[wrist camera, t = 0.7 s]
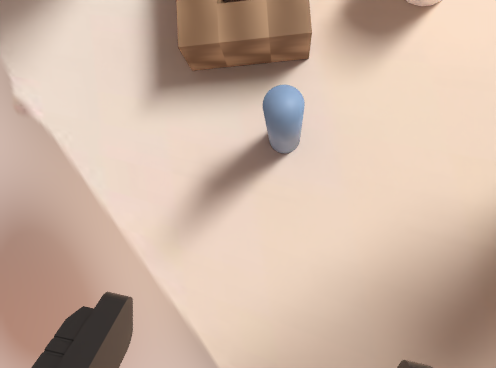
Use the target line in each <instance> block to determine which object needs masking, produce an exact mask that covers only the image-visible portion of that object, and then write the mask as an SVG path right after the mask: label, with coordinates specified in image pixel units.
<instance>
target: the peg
mask: <svg viewBox="0 0 496 368" xmlns="http://www.w3.org/2000/svg"><path fill="white" fill-rule="evenodd" d="M263 111H264V116H265V121H266V126H267V131H268V136H269V141H270V144H271V146H272V148H273V149H274V150H275V151H277V152H279V153H289V152H292V151H293V150H295V149H296V148H297V146H298V144H299V141H300V134H301V127H302V120H303V112H304V99H303V96H302V94H301V93H300V92H299V91H298V90H297V89H296V88H294V87H292V86H289V85H279V86H276V87H274V88H272V89H271V90H269V91H268V93H267V94H266V95H265V97H264V100H263Z"/></svg>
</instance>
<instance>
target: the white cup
mask: <svg viewBox="0 0 496 368" xmlns="http://www.w3.org/2000/svg"><path fill="white" fill-rule="evenodd" d="M406 1H407V2H408V3H410V4H414V5H418V6H429V5H433V4H436V3H438V2H440V1H442V0H406Z"/></svg>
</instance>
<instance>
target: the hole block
mask: <svg viewBox="0 0 496 368" xmlns="http://www.w3.org/2000/svg"><path fill="white" fill-rule="evenodd" d="M176 4H177V31H178V48H179V50H180V51H181V53H182V55H183V56H184V58H185V60H186V61H187V63H188V65H189V66H190V68H191V70H192V71H194V70H203V69H213V68H222V67H232V66H242V65H251V64H261V63H271V62H280V61H290V60H299V59H309V51H310V43H311V35H312V29H311V17H310V6H309V0H246V1H237V2H229V3H224V0H176Z"/></svg>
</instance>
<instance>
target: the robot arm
mask: <svg viewBox="0 0 496 368" xmlns="http://www.w3.org/2000/svg"><path fill="white" fill-rule="evenodd" d="M132 331H133V301H132V298H131V297H128V296H124V295H120V294H115V293H111V292H106V293H105V294H104V295H103V296H102V297H101V299H100V301H99V302H98V304H97V305H96V307H95V308H94V309H93V308H89V307H84V306H83V307H82V308H80V309H79V310H78V311H76V312H75V313H73V314H72V315H71V316H70V317H68V318H67V319H66V320H65V321H64V323H63V324H62V326H61V327H60V328H59V330H58V331H57V333H56V334H55V336H54V338H53V339H52V340H51V341H50V343H49V344H48V345H47V347H46V348H45V351H44V353H42V354H41V355H40V357H39V358H38V359H37V361H36V362H35V364H34V365H33V366H32V368H119V366H120V364H121V362H122V360H123V358H124V356H125V354H126V352H127V349H128V347H129V344H130V341H131V337H132ZM397 368H432V367H431V366H428V365H424V364H419V363H415V362H411V361H406V360H403V361H401V362H400V364H399V366H398V367H397Z"/></svg>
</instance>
